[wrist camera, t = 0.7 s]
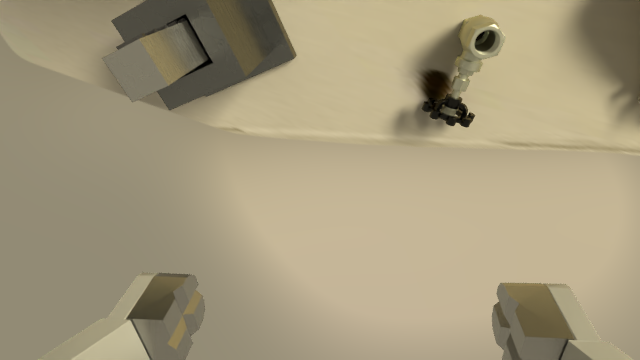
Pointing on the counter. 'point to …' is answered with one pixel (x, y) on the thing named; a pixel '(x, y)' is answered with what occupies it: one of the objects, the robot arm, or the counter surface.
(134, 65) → the column
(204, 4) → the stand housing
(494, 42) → the valve
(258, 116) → the counter surface
